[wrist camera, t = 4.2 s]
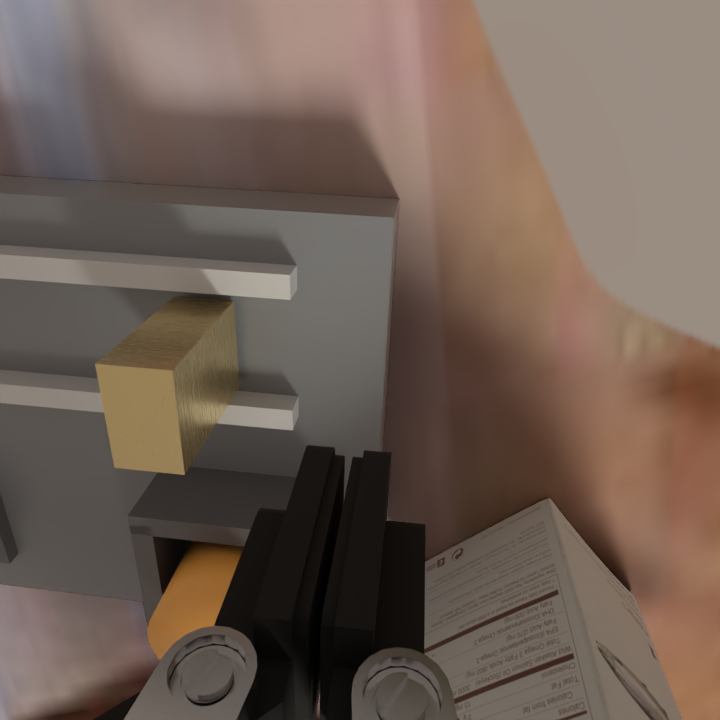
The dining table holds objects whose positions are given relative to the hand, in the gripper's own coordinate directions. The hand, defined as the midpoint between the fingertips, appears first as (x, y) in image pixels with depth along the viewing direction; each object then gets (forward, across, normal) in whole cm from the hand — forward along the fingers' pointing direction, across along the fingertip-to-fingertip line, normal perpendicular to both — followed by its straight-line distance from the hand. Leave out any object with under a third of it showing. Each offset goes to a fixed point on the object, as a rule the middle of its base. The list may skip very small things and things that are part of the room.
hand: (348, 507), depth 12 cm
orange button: (+6, +5, +10) cm, 13 cm away
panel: (+12, +12, +5) cm, 18 cm away
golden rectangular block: (+8, +6, +1) cm, 10 cm away
